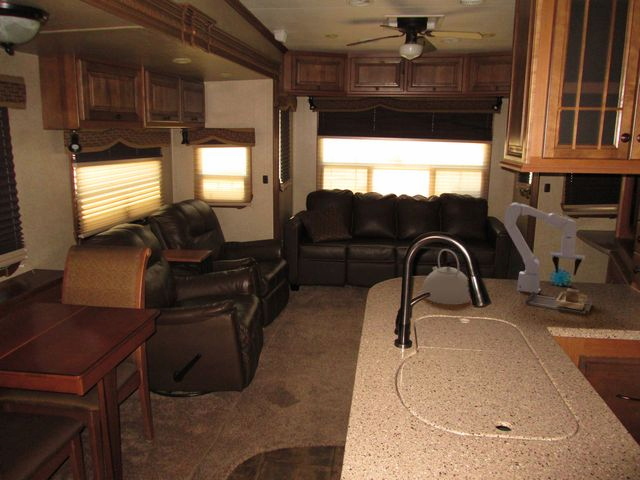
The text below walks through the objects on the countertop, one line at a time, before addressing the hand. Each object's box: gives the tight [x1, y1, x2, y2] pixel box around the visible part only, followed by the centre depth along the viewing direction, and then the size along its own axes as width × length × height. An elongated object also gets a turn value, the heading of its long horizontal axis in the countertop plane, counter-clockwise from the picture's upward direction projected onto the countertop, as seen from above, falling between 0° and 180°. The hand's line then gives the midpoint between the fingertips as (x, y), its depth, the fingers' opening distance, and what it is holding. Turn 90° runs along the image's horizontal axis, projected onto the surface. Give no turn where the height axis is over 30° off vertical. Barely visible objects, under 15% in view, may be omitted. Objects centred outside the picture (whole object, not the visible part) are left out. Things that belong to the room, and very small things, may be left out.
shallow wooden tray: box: [555, 291, 588, 310], centre depth 228 cm, size 11×16×3 cm
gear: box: [548, 268, 574, 287], centre depth 262 cm, size 11×6×10 cm
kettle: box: [421, 248, 472, 305], centre depth 241 cm, size 25×23×22 cm
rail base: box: [525, 292, 593, 316], centre depth 231 cm, size 25×16×2 cm, turn 57°
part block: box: [565, 287, 580, 303], centre depth 228 cm, size 4×4×5 cm
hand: (565, 273), depth 243 cm, fingers open, 7 cm apart
